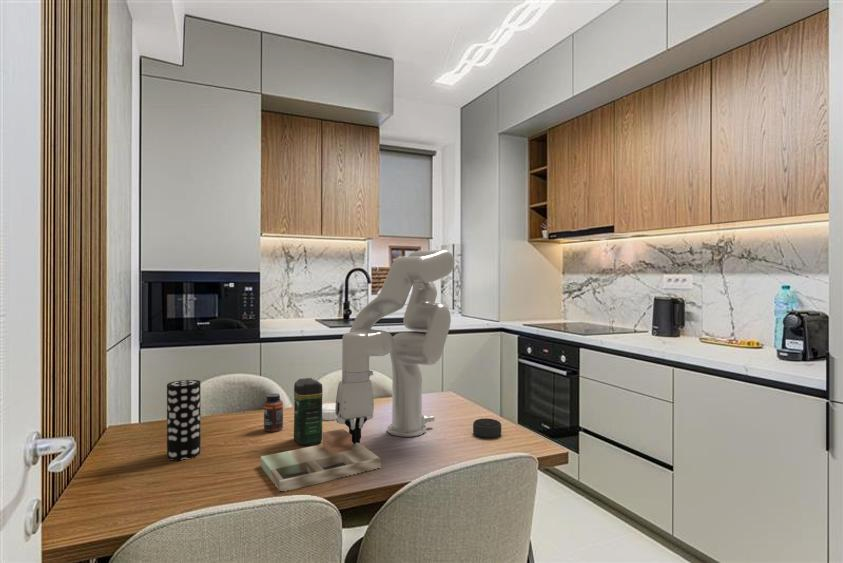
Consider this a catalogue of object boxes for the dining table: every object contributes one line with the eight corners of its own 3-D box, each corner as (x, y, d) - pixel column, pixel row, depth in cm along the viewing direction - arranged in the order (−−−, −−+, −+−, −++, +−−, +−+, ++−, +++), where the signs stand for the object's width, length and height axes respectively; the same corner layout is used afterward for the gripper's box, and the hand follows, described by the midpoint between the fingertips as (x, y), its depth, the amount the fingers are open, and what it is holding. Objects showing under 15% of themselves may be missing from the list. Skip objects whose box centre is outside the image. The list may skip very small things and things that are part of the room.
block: (342, 442, 134) (342, 428, 134) (351, 449, 129) (351, 434, 129) (322, 446, 131) (322, 432, 131) (331, 453, 126) (331, 438, 125)
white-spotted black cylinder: (166, 463, 125) (166, 387, 125) (167, 452, 133) (167, 381, 132) (201, 457, 129) (201, 384, 129) (199, 447, 136) (199, 378, 136)
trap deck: (352, 447, 138) (352, 438, 138) (380, 468, 122) (380, 458, 122) (260, 465, 124) (260, 456, 123) (280, 492, 108) (280, 481, 108)
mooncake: (308, 419, 165) (308, 409, 165) (323, 410, 176) (323, 400, 176) (340, 422, 162) (341, 411, 162) (353, 412, 174) (353, 402, 174)
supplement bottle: (286, 427, 156) (286, 392, 156) (278, 432, 150) (278, 397, 150) (268, 426, 156) (268, 392, 156) (260, 432, 150) (260, 396, 150)
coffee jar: (325, 443, 140) (325, 381, 140) (298, 448, 137) (299, 384, 136) (316, 434, 149) (316, 375, 149) (291, 437, 145) (291, 377, 145)
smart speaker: (474, 439, 145) (474, 426, 145) (471, 430, 154) (471, 417, 154) (503, 439, 145) (503, 426, 145) (498, 429, 154) (498, 417, 154)
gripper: (373, 371, 140) (372, 433, 140) (325, 376, 132) (324, 442, 132) (385, 376, 133) (384, 441, 133) (335, 381, 125) (335, 451, 125)
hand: (355, 441), depth 132 cm, fingers closed
